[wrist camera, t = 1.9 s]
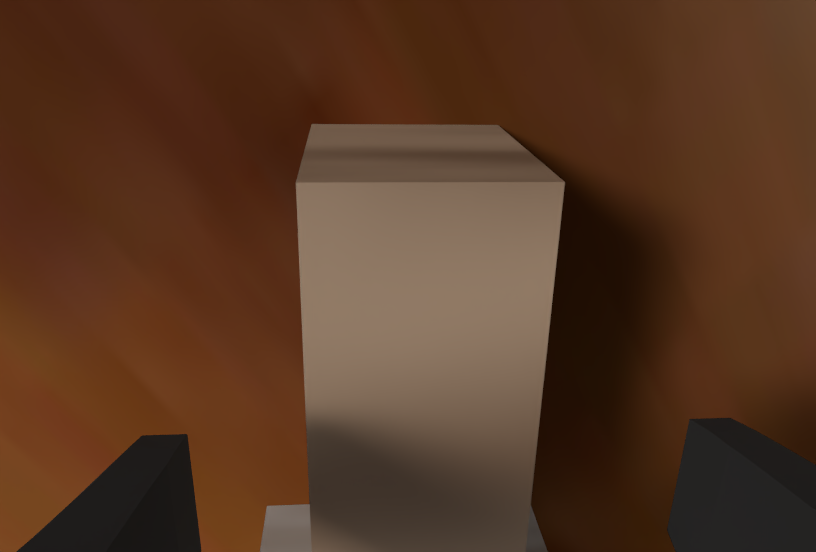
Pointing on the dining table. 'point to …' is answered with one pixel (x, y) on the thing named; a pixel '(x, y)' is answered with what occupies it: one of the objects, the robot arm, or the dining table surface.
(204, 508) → the dining table surface
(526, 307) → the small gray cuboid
